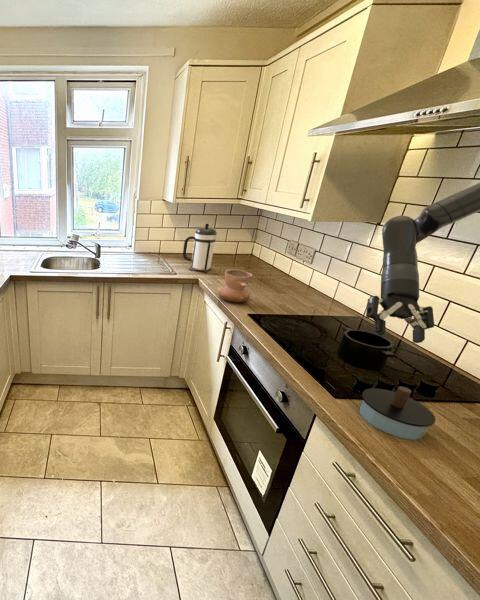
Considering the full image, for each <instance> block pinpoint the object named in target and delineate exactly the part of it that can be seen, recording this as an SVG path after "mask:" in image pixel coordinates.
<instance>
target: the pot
mask: <svg viewBox="0 0 480 600" xmlns="http://www.w3.org/2000/svg"><path fill="white" fill-rule="evenodd" d="M342 331H343V332H344V333H343V335H342V338H341V341H340V343H339V346H338V349H337V352H336V356H337V358H338V359H340V360H341V361H343V362H344V363H346V364H348V365H350V366H352V367H356V368H358V369H362V370H367V371H380V370H383V369H384V367H385V365H386V363H387V361H388V358H394V357H395V353H393V352H392V350H393V348H394V342H392V341H391V340H390V339H388V338H387V337H385V336H382V335H377V334H376V332H371V331H367V330H362V329H353V328H351V327H343V329H342Z"/></svg>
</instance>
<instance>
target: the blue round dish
mask: <svg viewBox="0 0 480 600" xmlns="http://www.w3.org/2000/svg"><path fill="white" fill-rule="evenodd" d="M359 414H360V416H361V417H362V418H363V419H364V420H365V421H366V422H368V423H369V424H370V425H371V426H372V427H374V428H376V429H377V430H380V431H381V432H383V433H386V434H388V435H390V436H392V437H393V436H394V437H396V438H400V439H404V440H413V441H414V440H420V439H422V438H423V437H424V436H426V434H427V432H428V430H429V428H430V427H431V426H428V427H418V426H412V425H407V424H404V423H400V422H398V421H395V420H392V419H390V418H388V417H386V416H384V415H382V414H380V413H378V412H377V411H375V410H374V409H372V408H371V407H370V406H368V405H367V404H366V403H365V401H364V400H363V399H362V401H361V404H360V407H359Z"/></svg>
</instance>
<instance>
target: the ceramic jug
mask: <svg viewBox="0 0 480 600" xmlns="http://www.w3.org/2000/svg"><path fill="white" fill-rule="evenodd" d="M252 278H253V274H252V272H251V273H250V272H249V271H246V270H242V269H237V268H229V269H226V270H225V271H224V280H225V282H224V283H225V286H222V287H221V288H219V290H218V296H219V297H220V298H221V299H223V300H225V301H226V302H229V303H235V304H237V303H238V304H239V303H246V302H247V301H249V300H250V298H251V293H250V291H249V290H247V289H246V287H247V286H248V285H249V283H250V281H252Z"/></svg>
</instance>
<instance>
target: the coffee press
mask: <svg viewBox="0 0 480 600" xmlns="http://www.w3.org/2000/svg"><path fill="white" fill-rule="evenodd" d="M194 235H195V236H193V235H192V236H188V237H187V238H186V239H185V240H184V243H183V250H182V254H183V255H182V257H183V259H184V260H185V261H187V262H190V267H189V269H188V271H191V272H192V271H193V270H198V271H203V274H208V270H209V269H211V270H212V261H213V255H214V249H215V244H216V239H219V236H218V232H217V230H216V229H215V228H214V227H210V224H209V223H205V224H204V226H202V227H201V226H200V227H198V228H196V230H195V231H194ZM191 240H193V248H192V257H191V258H190V257H188V256H187V248H188V242H189V241H191Z"/></svg>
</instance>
